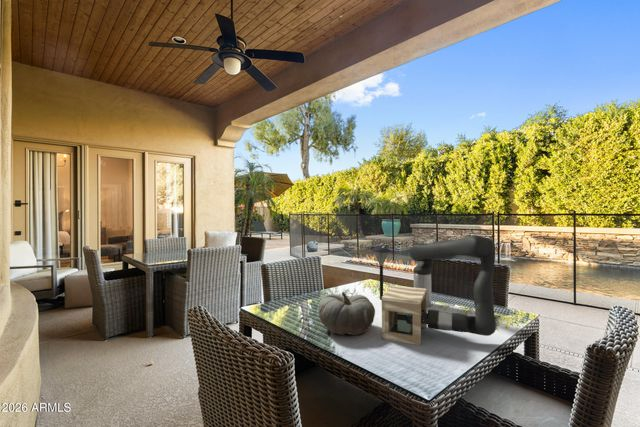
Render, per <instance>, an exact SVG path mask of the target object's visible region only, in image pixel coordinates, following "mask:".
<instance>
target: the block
mask: <svg viewBox="0 0 640 427" xmlns="http://www.w3.org/2000/svg"><path fill="white" fill-rule="evenodd" d="M397 314H401V315H412V314H411V313H403V312H397ZM410 320H411V319H410ZM412 330H413V326H412V324H407V322H406V321H403V320H398V324H397V331H398V332H403V333H411V331H412Z"/></svg>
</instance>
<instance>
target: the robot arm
mask: <svg viewBox="0 0 640 427" xmlns="http://www.w3.org/2000/svg"><path fill="white" fill-rule="evenodd" d="M408 252H409V256H410V258H411V260H413V261H415V262H420V263H419V264H418V265H416V266H414V267H413V288H423V289H427V308H428V307H431V306H432V270H433V264H434V263H433V262H434V261H433V260H436V261H441V260H442V261H448V260H454V259H455V258H457V257H458V256H463V257H464V256H466V257H469V258H470V257H471V258H476V259H479V260H480V270H479V272H478V276H477V278H476V280H475V281H474V284H473V289H472V290H473V291H472V292H473V305H474V310H475V311H474V312H475V313H474V314H475V315H467V314H465V313H458V312H450V311H447V310H446V311H445V310H439V309H437V310H436V309H430V308H429V309H428V310H427V313H425V310H421V324H427V328H428V329H431V330H438V331H446V332H449V331H451V332H452V331H453V332H459V333H469V334H474V335H477V336H478V335H479V336H485V337H486V336H491V335H493V334H494V333H496V331H497V330H496V329H497V321H496V314H495V310H494V308H495V307H494V306H495V305H494V302H495V301H494V288H493V284H494V282H493V281H494V280H493V279H494V270H495V268H494V267H495V259H496V246H495V242H494V240H492V239H491V238H489V237H485V236H481V235H473V234H472V235H468V236H465V237H461V238H458V239H445V240H439V241H435V242H430V243H416V244H413V245H412V246H411V247H410V249H409V251H408ZM410 319H411V320H410ZM397 320H403V321H406V322H407V324H412V325H413V314H412V315H401V314H397Z"/></svg>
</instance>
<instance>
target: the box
mask: <svg viewBox="0 0 640 427" xmlns="http://www.w3.org/2000/svg"><path fill="white" fill-rule="evenodd" d="M427 308H428V307H427V289H423V288H414V286H413V287H410V286H399V285H392V286H391V287H390V288H389V289H388V290H387V291H386V292H385V293H383V296H382V300H381V339H382V340H385V341H386V340H388V341H391V342H392V341H394V342H397V343H398V342H399V343H404V344H405V343H406V344H412V345H417V346H421V345H422V328H426V329H427V328H428V326H427V324H421V310H425V313H428V310H427ZM397 312H403V313H411V314H413V325H412V334H408V333H401V332H394V331H391V330H392V329H393V328H394V326H395V324H396V325H398V320H397Z"/></svg>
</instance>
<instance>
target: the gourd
mask: <svg viewBox="0 0 640 427" xmlns="http://www.w3.org/2000/svg"><path fill="white" fill-rule="evenodd" d="M317 310H318V318H319V320H320V321H321V324H323V326H324V327H326V328H327V329H328V330H329V331H330V332H331V333H333V334H336V335H346V334H349V335H350V336H351V335H352V336H355V335H360V334H364V333H365V332H366V331H367V330H369V329H370V327H371V326H372V325H373V322H374V320H375V316H376V308H375V307H374V304H373V303H372V302H371V301H370V299H369V298H368V297H366V296H365V295H362V294H354V295H350V296H347V295H346V293H345V292H344V291H343V292H341V295H340V294H337V293H327V294H325V295H324V296H322V298H321V300H320V301H319V303H318V309H317Z"/></svg>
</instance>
